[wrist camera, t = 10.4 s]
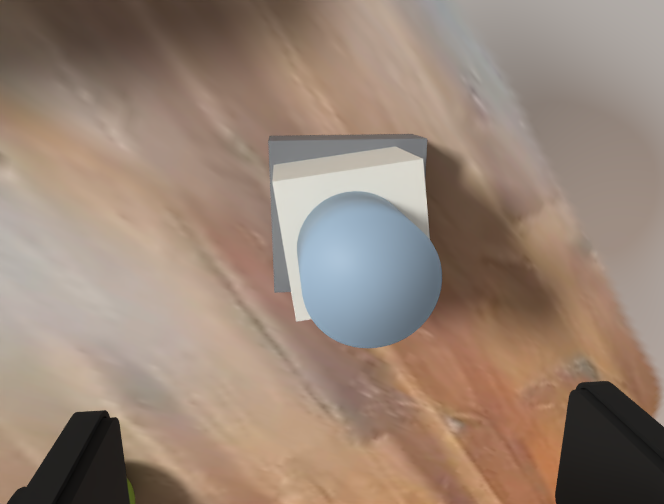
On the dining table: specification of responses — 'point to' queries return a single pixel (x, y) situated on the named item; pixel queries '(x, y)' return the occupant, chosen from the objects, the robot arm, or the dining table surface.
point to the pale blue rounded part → (366, 270)
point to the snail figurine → (131, 493)
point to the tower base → (318, 147)
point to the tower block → (338, 177)
